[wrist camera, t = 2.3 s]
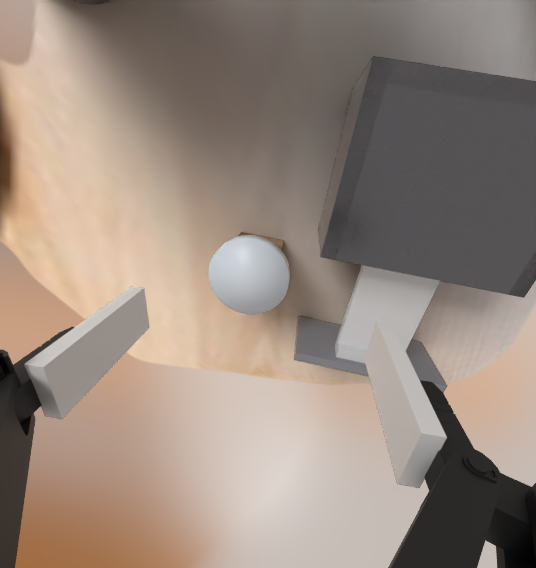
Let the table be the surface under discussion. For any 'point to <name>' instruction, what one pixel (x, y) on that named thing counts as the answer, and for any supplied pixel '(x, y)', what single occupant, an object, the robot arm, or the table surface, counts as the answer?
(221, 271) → the disc
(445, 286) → the table surface
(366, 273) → the grey drawer
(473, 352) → the table surface
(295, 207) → the table surface
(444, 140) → the dark grey drawer housing
